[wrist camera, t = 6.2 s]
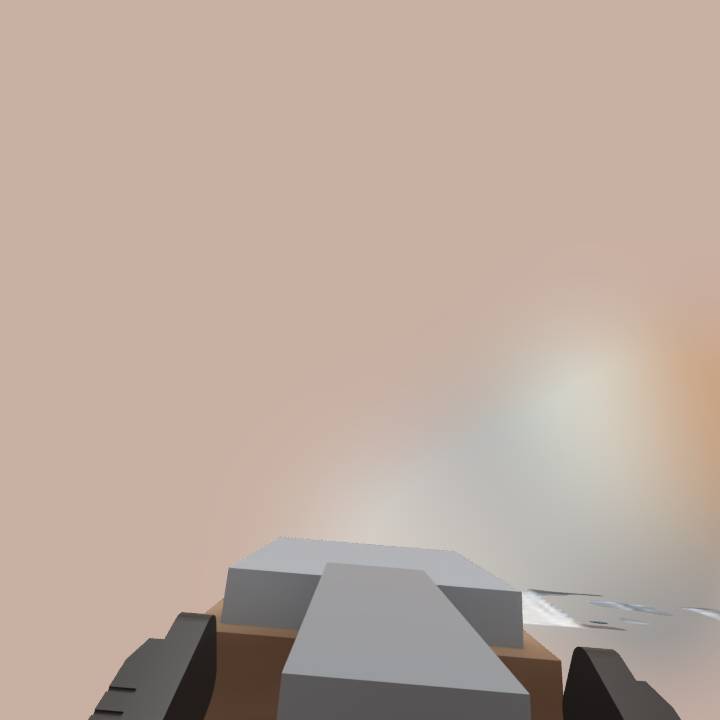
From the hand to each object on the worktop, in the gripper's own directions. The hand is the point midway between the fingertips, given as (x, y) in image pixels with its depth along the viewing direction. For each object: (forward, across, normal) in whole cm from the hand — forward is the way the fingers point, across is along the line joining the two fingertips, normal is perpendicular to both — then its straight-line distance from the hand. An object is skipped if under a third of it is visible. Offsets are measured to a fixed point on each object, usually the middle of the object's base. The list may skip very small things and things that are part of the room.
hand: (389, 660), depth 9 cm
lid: (+6, 0, +6) cm, 9 cm away
